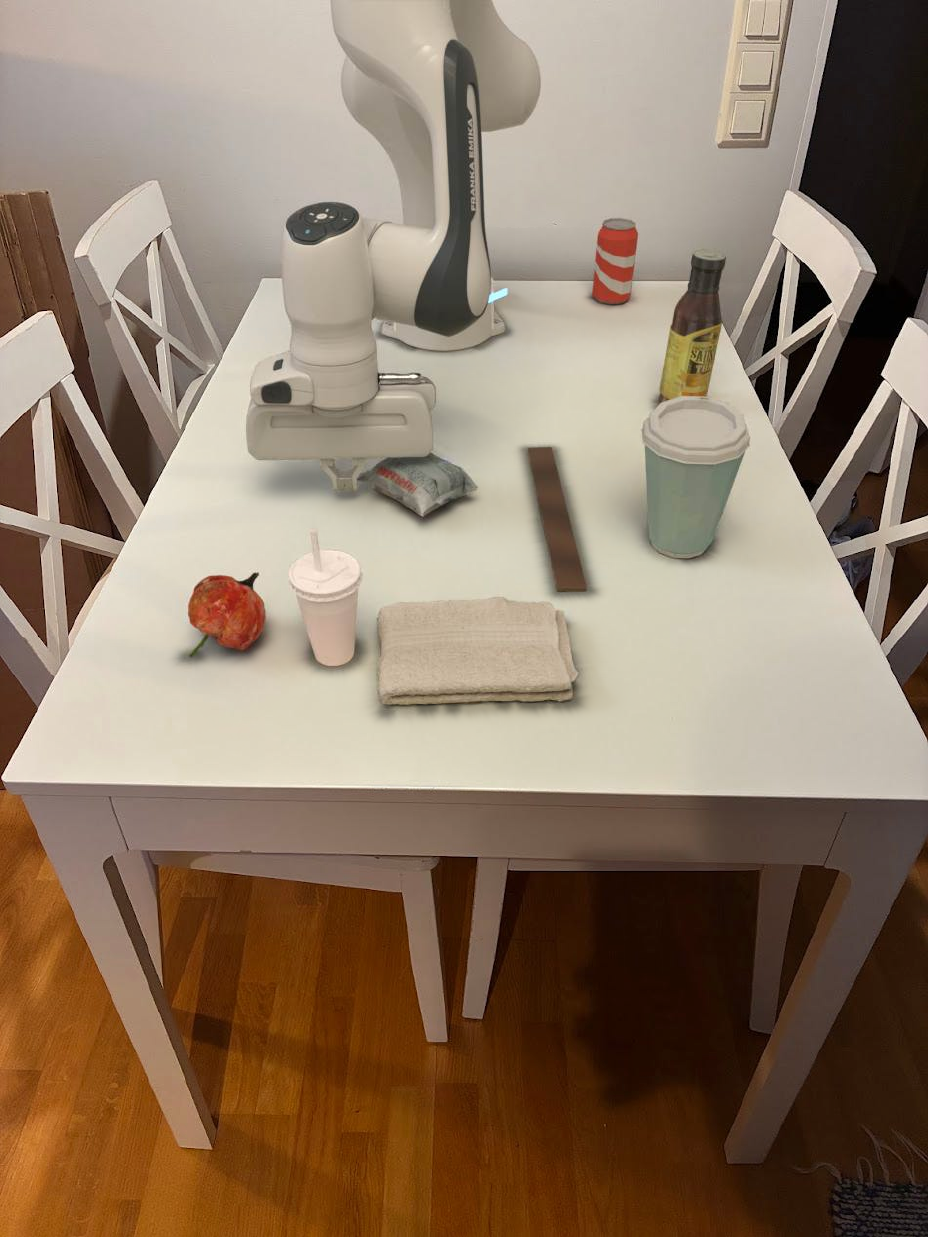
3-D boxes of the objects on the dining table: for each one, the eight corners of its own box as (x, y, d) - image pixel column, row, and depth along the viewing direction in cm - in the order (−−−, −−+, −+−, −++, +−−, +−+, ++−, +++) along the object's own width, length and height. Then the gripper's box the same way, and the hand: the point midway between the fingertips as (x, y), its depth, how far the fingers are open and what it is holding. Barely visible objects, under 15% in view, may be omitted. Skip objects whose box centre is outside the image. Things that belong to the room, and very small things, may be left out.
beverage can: (620, 309, 150) (629, 232, 142) (585, 300, 152) (591, 224, 144) (636, 297, 153) (646, 221, 146) (601, 289, 156) (609, 214, 148)
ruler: (527, 450, 116) (527, 447, 115) (551, 450, 116) (551, 446, 115) (556, 591, 94) (557, 588, 94) (586, 590, 94) (586, 587, 94)
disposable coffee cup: (718, 580, 96) (747, 452, 86) (615, 558, 99) (632, 432, 89) (732, 525, 103) (760, 402, 94) (637, 506, 106) (654, 384, 96)
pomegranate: (226, 693, 86) (299, 616, 85) (163, 657, 81) (239, 575, 80) (209, 651, 92) (278, 578, 91) (149, 614, 87) (221, 537, 86)
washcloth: (581, 704, 82) (584, 678, 80) (377, 713, 81) (375, 687, 79) (561, 617, 91) (563, 592, 89) (377, 624, 90) (375, 599, 88)
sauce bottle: (684, 421, 121) (711, 268, 109) (647, 404, 125) (669, 253, 112) (715, 405, 125) (745, 255, 112) (678, 389, 128) (703, 242, 115)
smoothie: (292, 640, 88) (273, 517, 79) (356, 623, 90) (345, 501, 81) (311, 684, 84) (293, 559, 75) (378, 665, 86) (368, 541, 77)
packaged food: (423, 533, 102) (422, 495, 99) (354, 491, 108) (351, 454, 105) (479, 504, 107) (480, 466, 103) (410, 465, 113) (409, 428, 110)
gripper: (434, 359, 100) (436, 471, 109) (242, 362, 99) (260, 474, 108) (436, 386, 95) (438, 501, 104) (234, 389, 94) (253, 505, 103)
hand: (345, 487), depth 106 cm, fingers closed
